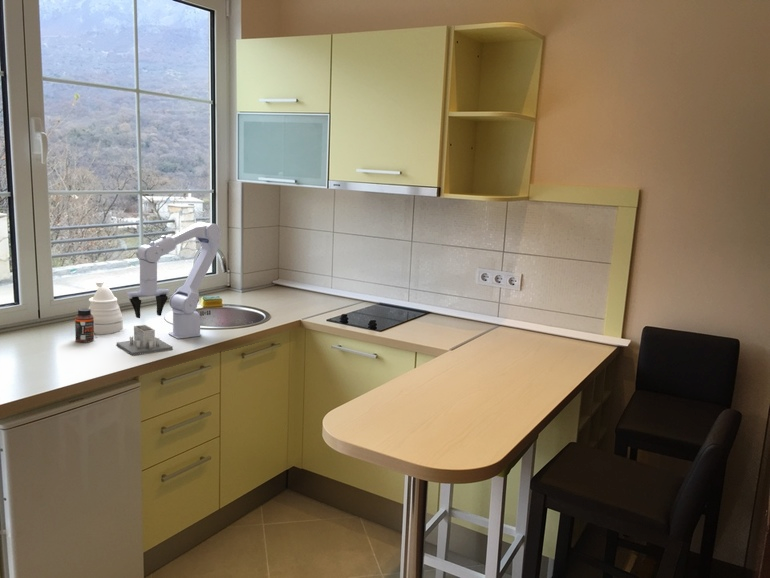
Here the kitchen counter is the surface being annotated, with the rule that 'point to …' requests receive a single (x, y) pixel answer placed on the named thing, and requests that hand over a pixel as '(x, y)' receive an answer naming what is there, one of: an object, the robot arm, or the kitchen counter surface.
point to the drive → (144, 335)
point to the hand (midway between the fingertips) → (148, 316)
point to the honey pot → (105, 311)
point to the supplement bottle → (84, 325)
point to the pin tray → (136, 349)
